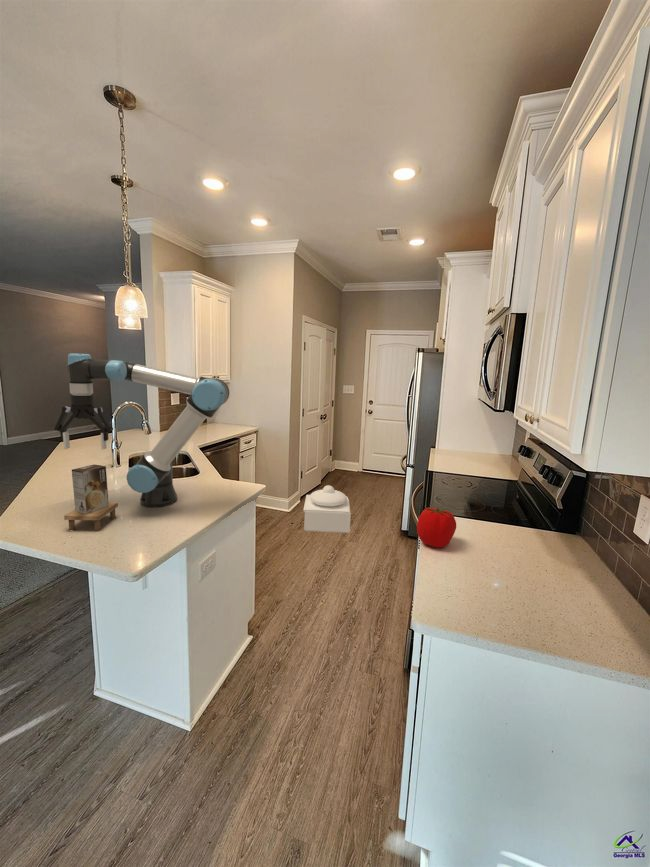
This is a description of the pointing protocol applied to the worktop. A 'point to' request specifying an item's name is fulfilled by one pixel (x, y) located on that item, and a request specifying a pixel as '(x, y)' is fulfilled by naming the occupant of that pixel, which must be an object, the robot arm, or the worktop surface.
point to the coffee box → (90, 488)
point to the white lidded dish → (327, 511)
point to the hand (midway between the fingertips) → (85, 448)
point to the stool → (91, 516)
